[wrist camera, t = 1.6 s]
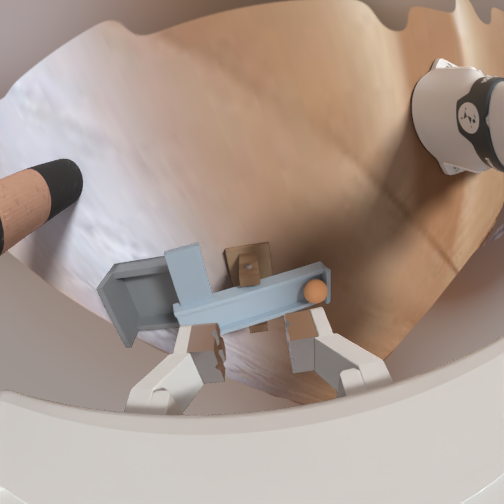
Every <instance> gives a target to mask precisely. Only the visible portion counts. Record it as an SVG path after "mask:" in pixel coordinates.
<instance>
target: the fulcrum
mask: <svg viewBox="0 0 504 504" xmlns="http://www.w3.org/2000/svg"><path fill="white" fill-rule="evenodd" d="M225 252H226V257H227V261H228V266H229V271H230V275H231V280H232V285H233V287H236V286H240V285H241V287H245V286H252V285H259V284H261V282H260V279H263V278H267V277H270V276H273V272H272V264H271V257H270V249H269V243H268V242H265V243H259V244H252V245H245V246H239V247H232V248H226V249H225ZM249 329H250V333H255V332H262V331H268V327H267V321H265V322H262V323H258V324H255V325H252V326H249Z"/></svg>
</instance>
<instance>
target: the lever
mask: <svg viewBox="0 0 504 504" xmlns="http://www.w3.org/2000/svg"><path fill="white" fill-rule="evenodd" d="M164 256H165V259H166V262H167V265H168V268H169V271H170V275H171V278H172V281H173V284H174V287H175V290H176V293H177V296H178V298H179V301H180V302H179V303H175V304H173V309H174V315H175V317H177V319H178V322H179V324H180V326H182V325H193V324H206V323H218V324H219V327H220V335H222V334H226V333H229V332H233V331H236V330H239V329H242V328H246V327H249V326H252V325H255V324H258V323H262V322H265V321H268V320H271V319H274V318H277V317H280V316H283V315H284V314H285V313H292V312H294V311H297V310H300V309H303V308H306V307H309V306H311V305H314V303H310V302H309V301H307V300H306V298H305V297H304V293H303V290H304V287H305V285H306V283H307V282H309V281H310V280H313V279H319V280H321V281H323V282H324V283H325V284H326V286H327V289H328V293H327V297H326V298H325V300H324V301H325V302H326V304H328V303H330V302H331V270H330V269H329V268H327V267H326V266H325V265H324V264H323V263H322V262H320V261H319V262H316V263H313V264H309V265H306V266H303V267H300V268H297V269H293V270H290V271H287V272H283V273H280V274H277V275H273V276H270V277H267V278H263V279H260V282H261V284H259V285H252V286H245V287H241V285H240V286H236V287H233V288H229V289H226V290H222V291H219V292H215V293H212V292H211V288H210V285H209V281H208V277H207V273H206V269H205V266H204V262H203V258H202V254H201V250H200V246H199V243H198V242H197V243H194V244H190V245H186V246H182V247H179V248H175V249H171V250H168V251H164Z"/></svg>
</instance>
